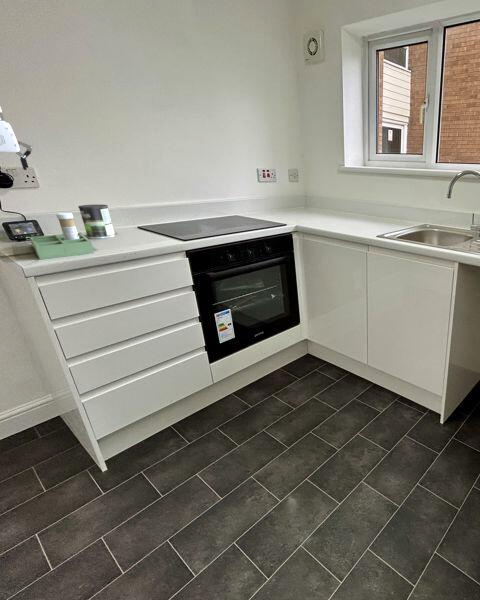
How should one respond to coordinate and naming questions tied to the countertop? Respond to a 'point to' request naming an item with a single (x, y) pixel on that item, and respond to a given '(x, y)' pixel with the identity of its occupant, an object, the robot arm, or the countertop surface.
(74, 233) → the sprinkles bottle
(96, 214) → the coffee can
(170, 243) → the countertop surface
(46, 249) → the grid tray
